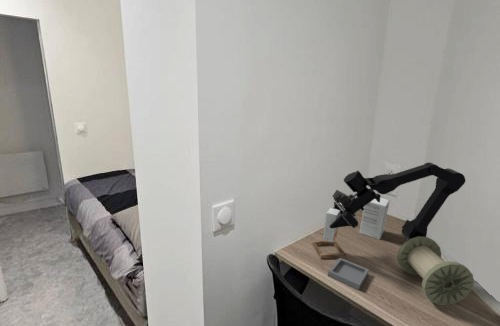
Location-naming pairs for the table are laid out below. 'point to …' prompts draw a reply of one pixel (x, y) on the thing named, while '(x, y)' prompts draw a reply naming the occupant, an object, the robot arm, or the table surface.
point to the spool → (435, 271)
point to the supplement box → (374, 218)
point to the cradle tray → (348, 273)
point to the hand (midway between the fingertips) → (328, 223)
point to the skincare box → (330, 218)
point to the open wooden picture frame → (331, 255)
